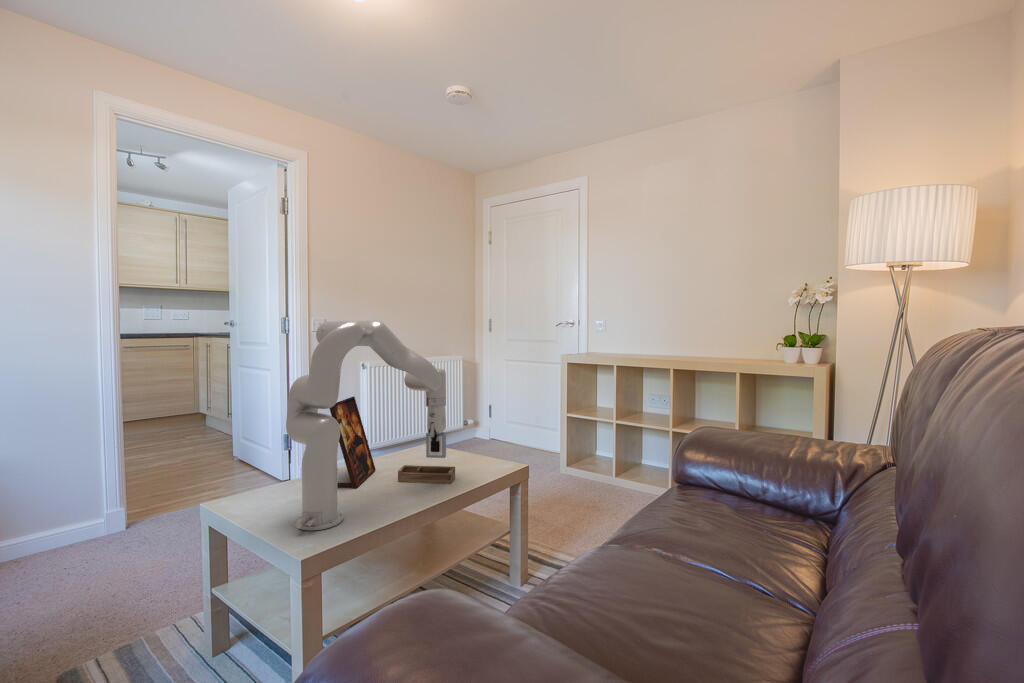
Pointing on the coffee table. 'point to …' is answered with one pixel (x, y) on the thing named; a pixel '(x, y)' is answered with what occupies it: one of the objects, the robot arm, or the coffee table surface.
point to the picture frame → (353, 442)
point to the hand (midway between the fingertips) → (436, 450)
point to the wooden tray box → (426, 474)
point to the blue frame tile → (442, 446)
